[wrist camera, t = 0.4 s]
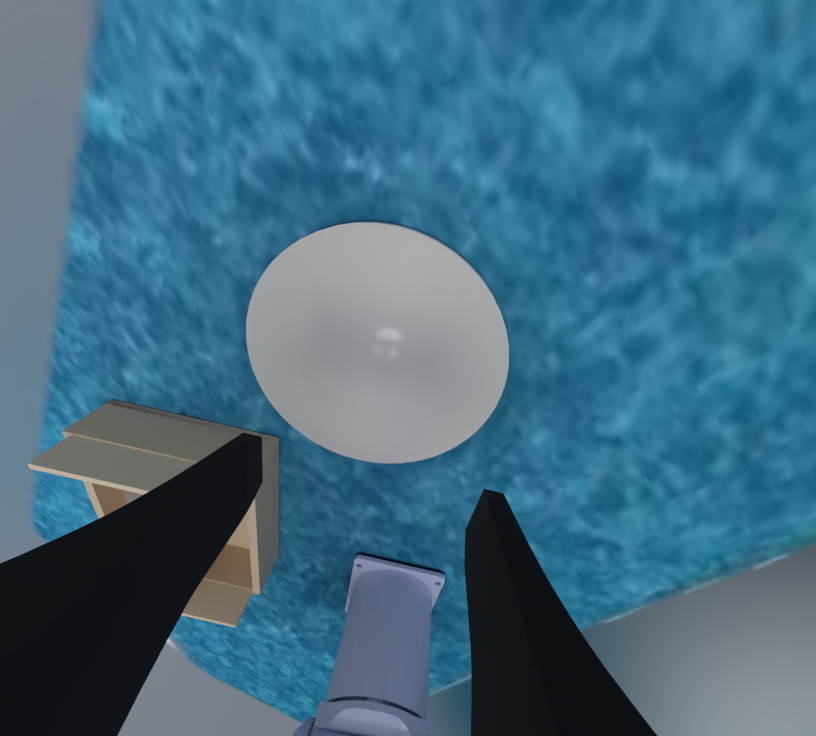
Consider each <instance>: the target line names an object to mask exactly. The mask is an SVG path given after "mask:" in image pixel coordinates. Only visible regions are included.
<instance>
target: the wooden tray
mask: <svg viewBox="0 0 816 736" xmlns="http://www.w3.org/2000/svg"><path fill="white" fill-rule="evenodd" d="M62 432H63V434H64V436H65V439H64V440H63V441H61V442H60V443H58V444H56V445H55V446H53V447H52V448H50V449H49V450H47V451H46V452H44V453H43V454H41V455H40V456H38V457H36V458H35V459H33V460H32V461H30V462H29V463H28V466H29V468H30V469H34V470H38V471H43V472H47V473H51V474H56V475H60V476H65V477H69V478H73V479H78V480H82V481H83V482H84V485H85V487H86V490H87V492H88V494H89V497H90V499H91V502H92V504H93V506H94V509H95V511H96V514H97V516H98V519H99V518H101V517H103V516H105V515H107V514H109V513H111V512H113V511H115V510H117V509H119V508H120V507H122V506H124V505H126V504H128V503H127V500H126V497H125V494H124V491H123V490H126V491H130V492H135V493H139V494H143V495H144V494H146V493H147V492H149V491H151V490H152V489H154V488H156V487H158V486H159V485H161V484H163V483H165V482H166V481H168V480H170V479H171V478H173V477H175V476H176V475H178V474H179V473H181V472H183V471H184V470H186V469H187V468H189V467H191V466H192V465H194V464H195V463H197V462H199V461H200V460H202V459H203V458H205V457H206V456H208V455H209V454H211V453H212V452H214V451H215V450H217V449H219V448H220V447H222V446H223V445H225V444H226V443H228V442H229V441H231V440H232V439H234V438H235V437H237V436H238V435H240V434H242V433H248V434H252V435H256V436H260V437H262V461H263V482H262V484H261V486H260V488H259V490H258V492H257V494H256V496H255V498H254V500H253V502H252V504H251V506H250V508H249V510H248V512H247V513H246V515H245V516H244V518H243V519H242V521H241V523H240V524H239V526H238V527H237V529H236V530H235V532H234V533H233V535H232V536H231V538H230V539H229V541H228V542H227V544H226V545H225V547H224V548H223V550H222V551H221V553H220V554H219V556H218V557H217V558H216V560H215V561H214V563H213V564H212V566H211V567H210V569H209V570H208V572H207V574H206V575H205V577H204V578H203V580H202V582H201V583H200V584H199V585H198V587H197V589H196V590H195V592H194V594H193V595H192V597H191V598H190V600H189V602H188V603H187V605H186V607H185V609H184V611H183V612H182V614H181V615H183V616H187V617H191V618H196V619H200V620H204V621H209V622H213V623H217V624H222V625H226V626H230V627H235V628H236V626H237V624H238V622H239V620H240V618H241V616H242V614H243V612H244V610H245V608H246V606H247V604H248V602H249V600H250V598H251V596H252V593H254V594H258V595H260V594H261V592H262V590H263V588H264V585H265V583H266V581H267V579H268V577H269V575H270V573H271V570H272V568H273V566H274V564H275V562H276V560H277V558H278V556H279V437H275V436H271V435H266V434H262V433H257V432H253V431H249V430H244V429H240V428H235V427H231V426H227V425H222V424H218V423H213V422H209V421H204V420H200V419H196V418H191V417H187V416H182V415H178V414H174V413H169V412H165V411H160V410H156V409H152V408H147V407H143V406H138V405H134V404H130V403H125V402H121V401H116V400H111V401H109V402H108V403H106V404H105V405H103V406H101V407H100V408H98V409H97V410H95V411H93V412H92V413H90V414H89V415H87V416H85V417H84V418H82V419H81V420H79V421H77V422H76V423H74V424H73V425H71V426H69V427H68V428H66V429H65V430H63V431H62Z"/></svg>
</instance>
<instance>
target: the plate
mask: <svg viewBox="0 0 816 736" xmlns="http://www.w3.org/2000/svg"><path fill="white" fill-rule="evenodd" d="M246 341H247V349H248V354H249V358H250V362H251V366H252V369H253V371H254V374H255V376H256V379H257V381H258V383H259V385H260V387H261V389H262V390H263V392H264V394H265V396H266V397H267V398H268V400H269V401H270V403H271V404H272V406H273V407H274V408H275V409H276V410H277V411H278V413H279V414H280V415H281V416H282V417H283V418H284V419H285V420H286V421H287V422H288V423H289V424H290V425H291V426H292V427H293V428H295V429H296V430H297V431H299V432H300V433H301V434H303V435H304V436H305V437H307V438H308V439H310V440H312V441H313V442H315V443H316V444H318V445H320V446H322V447H324V448H326V449H328V450H330V451H333V452H335V453H338V454H340V455H343V456H346V457H350V458H353V459H357V460H362V461H367V462H374V463H407V462H415V461H419V460H424V459H428V458H431V457H434V456H437V455H439V454H442V453H444V452H446V451H448V450H450V449H452V448H455V447H456V446H458V445H459V444H461V443H462V442H464V441H465V440H467V439H468V438H469V437H470V436H472V435H473V434H474V433H475V432H476V431H477V430H478V429H479V428H480V427H481V426H482V425H483V424H484V423H485V422H486V421H487V419H488V418H489V416H490V415H491V413H492V412H493V410H494V409H495V407H496V405H497V403H498V401H499V399H500V397H501V395H502V392H503V389H504V386H505V383H506V380H507V373H508V367H509V344H508V337H507V331H506V327H505V324H504V321H503V318H502V314H501V312H500V309H499V307H498V305H497V303H496V301H495V298H494V296H493V294H492V292H491V291H490V289H489V288H488V286H487V285H486V283H485V282H484V280H483V279H482V277H481V276H480V275H479V274H478V273H477V271H476V270H475V269H474V268H473V267H472V266H471V265H470V264H469V262H467V261H466V260H465V259H464V258H463V257H462V256H460V255H459V254H458V253H457V252H456V251H454V250H453V249H452V248H450V247H449V246H447V245H445V244H444V243H442V242H441V241H439V240H437V239H436V238H434V237H431V236H429V235H427V234H425V233H423V232H420V231H418V230H415V229H412V228H408V227H405V226H401V225H398V224H391V223H384V222H352V223H345V224H339V225H336V226H332V227H329V228H326V229H322V230H319V231H316V232H314V233H312V234H310V235H308V236H306V237H304V238H301V239H299V240H298V241H296V242H295V243H294V244H292V245H291V246H289V247H288V248H286V249H285V250H284V251H283V252H282V253H281V254H279V255H278V256H277V257H276V258H275V259H274V260H273V261H272V262H271V264H270V265H269V266H268V268H267V269H266V270H265V272H264V273H263V274H262V276H261V278H260V280H259V281H258V283H257V285H256V287H255V289H254V292H253V295H252V298H251V301H250V304H249V308H248V314H247V320H246Z"/></svg>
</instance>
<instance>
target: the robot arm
mask: <svg viewBox="0 0 816 736" xmlns="http://www.w3.org/2000/svg"><path fill="white" fill-rule="evenodd" d="M262 482H263V461H262V437H260V436H256V435H252V434H248V433H242V434H240V435H238V436H237V437H235V438H234V439H232V440H231V441H229V442H228V443H226V444H225V445H223V446H222V447H220V448H219V449H217V450H215V451H214V452H212V453H211V454H209V455H208V456H206V457H205V458H203V459H202V460H200V461H199V462H197V463H195V464H194V465H192V466H191V467H189V468H187V469H186V470H184V471H183V472H181V473H179V474H178V475H176V476H175V477H173V478H171V479H170V480H168V481H166V482H165V483H163V484H161V485H159V486H158V487H156V488H154V489H152V490H151V491H149V492H147V493H146V494H144V495H142V496H140V497H139V498H137V499H135V500H133V501H132V502H130V503H128V504H126V505H124V506H122V507H120V508H119V509H117V510H115V511H113V512H111V513H109V514H107V515H105V516H103V517H101V518H99V519H97V520H95V521H93V522H91V523H89V524H87V525H85V526H83V527H81V528H79V529H77V530H75V531H73V532H71V533H68V534H66V535H64V536H62V537H60V538H57V539H55V540H53V541H51V542H48V543H46V544H44V545H42V546H40V547H37V548H35V549H33V550H31V551H29V552H27V553H24V554H22V555H20V556H17V557H15V558H12V559H10V560H8V561H5V562H3V563H1V564H0V736H117V735H118V733H119V731H120V729H121V727H122V725H123V723H124V721H125V719H126V717H127V715H128V713H129V712H130V709H131V708H132V705H133V704H134V702H135V699H136V698H137V696H138V694H139V692H140V690H141V688H142V686H143V684H144V682H145V680H146V679H147V677H148V675H149V673H150V671H151V669H152V667H153V665H154V664H155V662H156V660H157V658H158V656H159V654H160V652H161V651H162V649H163V647H164V645H165V643H166V641H167V639H168V638H169V636H170V634H171V632H172V630H173V629H174V627H175V625H176V623H177V621H178V620H179V618H180V616H181V614H182V612H183V611H184V609H185V607H186V605H187V603H188V602H189V600H190V598H191V597H192V595H193V594H194V592H195V590H196V589H197V587H198V585H199V584H200V582H201V581H202V579H203V578H204V576H205V575H206V573H207V572H208V570H209V569H210V567H211V566H212V564H213V563H214V561H215V560H216V558H217V557H218V556H219V554H220V553H221V551H222V550H223V548H224V547H225V545H226V544H227V542H228V541H229V539H230V538H231V536H232V535H233V533H234V532H235V530H236V529H237V527H238V526H239V524H240V523H241V521H242V519H243V518H244V516H245V515H246V513H247V512H248V510H249V508H250V506H251V504H252V502H253V500H254V498H255V496H256V494H257V492H258V490H259V488H260V486H261V484H262ZM465 577H466V591H467V604H468V617H469V630H470V643H471V662H472V715H471V719H472V720H471V736H657V735H656V734H655V733H654V731H653V730H652V729H651V727H650V726H649V725H648V723H647V722H646V721H645V720H644V718H643V717H642V716H641V714H640V713H639V712H638V711H637V709H636V708H635V707H634V705H633V704H632V703H631V701H630V700H629V699H628V697H627V696H626V695H625V693H624V692H623V691H622V690H621V688H620V687H619V686H618V684H617V683H616V682H615V680H614V679H613V678H612V677H611V675H610V674H609V673H608V671H607V670H606V668H605V667H604V666H603V664H602V663H601V661H600V660H599V658H598V657H597V656H596V654H595V653H594V651H593V650H592V648H591V647H590V646H589V644H588V643H587V641H586V640H585V638H584V637H583V635H582V634H581V632H580V631H579V629H578V628H577V626H576V625H575V623H574V621H573V620H572V618H571V617H570V615H569V614H568V612H567V610H566V609H565V607H564V606H563V604H562V602H561V601H560V599H559V597H558V596H557V594H556V592H555V591H554V589H553V587H552V586H551V584H550V582H549V580H548V579H547V577H546V575H545V573H544V572H543V570H542V568H541V566H540V564H539V562H538V561H537V559H536V557H535V555H534V553H533V551H532V550H531V548H530V546H529V544H528V542H527V540H526V538H525V536H524V534H523V532H522V530H521V528H520V526H519V524H518V522H517V520H516V518H515V516H514V514H513V512H512V510H511V508H510V506H509V504H508V502H507V500H506V498H505V496H504V494H503V493H499V492H495V491H491V490H486V489H484V490H483V493H482V495H481V497H480V499H479V501H478V504H477V506H476V508H475V510H474V512H473V515H472V517H471V519H470V521H469V523H468V526H467V528H466V536H465ZM444 582H445V576H444V575H443V574H442V573H438V572H434V571H430V570H425V569H421V568H417V567H412V566H408V565H403V564H399V563H395V562H390V561H386V560H382V559H377V558H373V557H368V556H364V555H357V556H355V559H354V564H353V569H352V574H351V580H350V585H349V590H348V595H347V600H346V606H345V612H346V613H347V615H346V619H345V623H344V627H343V631H342V636H341V640H340V644H339V648H338V652H337V656H336V660H335V664H334V668H333V672H332V676H331V681H330V685H329V689H328V693H327V697H326V701H320V703H319V707H318V711H317V714H316V717H312V716H309V717H308V718H306V719H305V721H304V722H303V724H301V726H299V728H297V730H296V732H295V733H294V735H293V736H429V720H427V699H428V677H429V655H430V633H431V611H432V609H433V606H434V604H435V602H436V600H437V598H438V595H439V593H440V591H441V589H442V586H443V584H444Z"/></svg>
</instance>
